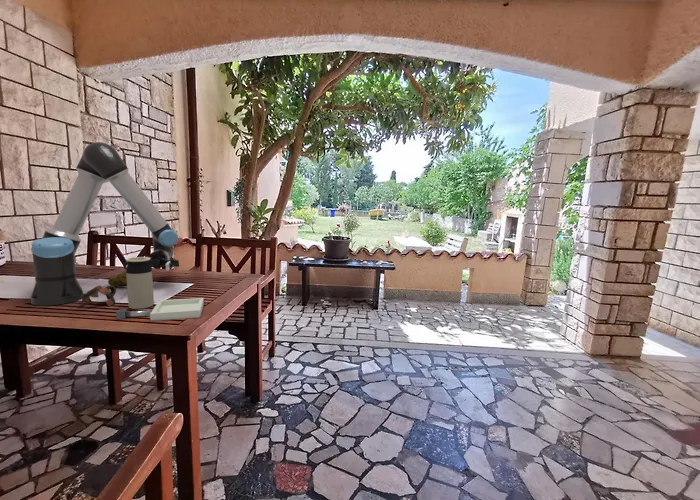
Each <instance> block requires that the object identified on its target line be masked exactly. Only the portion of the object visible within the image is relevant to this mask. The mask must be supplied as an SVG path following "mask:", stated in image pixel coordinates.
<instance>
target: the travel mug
mask: <svg viewBox="0 0 700 500" xmlns="http://www.w3.org/2000/svg"><path fill="white" fill-rule="evenodd" d="M150 259H151V258H149V257H148V256H137V257H129V258H126V261H125V262H128V266H127V267H126V269H125V271H126V276H127V286H126V288H127V301H128V302H127V304H128V308H129V309H133V310H142V309H143V310H144V309H147V308H151V307H152V306H154V304H155V303H154V298H155V297H154V285H153V284H154V282H153V281H154V280H153V267H152V266H151V265H150V263H149V262H150Z"/></svg>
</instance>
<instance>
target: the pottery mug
mask: <svg viewBox="0 0 700 500" xmlns="http://www.w3.org/2000/svg"><path fill="white" fill-rule="evenodd" d="M99 293H101V294H102V295H104V296H105V297H106V299H107V300H105V303H106V304H107V307H111V306H112V305H114V304H115V303H116V299H115V297H114V296H115V294H116V293H117V288H116V286H115V287H114V286H112V285H107V286H102V285H100V284H99V285H96V286H95V287H92V288H91V289H90V290H88V291H87V292H86V293H83V295H81V296H80V298H81V299H80V300H81V303H82V304H84V303H86V304H87V305H89V304H91V303H92V299H91V298H98V297H100V296H99Z"/></svg>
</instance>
